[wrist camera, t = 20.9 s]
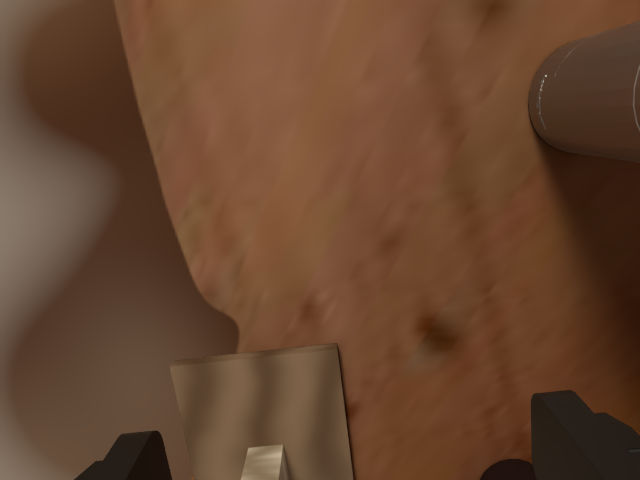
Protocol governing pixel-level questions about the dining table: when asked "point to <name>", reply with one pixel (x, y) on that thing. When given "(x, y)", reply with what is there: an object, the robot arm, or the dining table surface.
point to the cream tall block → (265, 463)
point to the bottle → (510, 471)
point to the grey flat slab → (265, 411)
